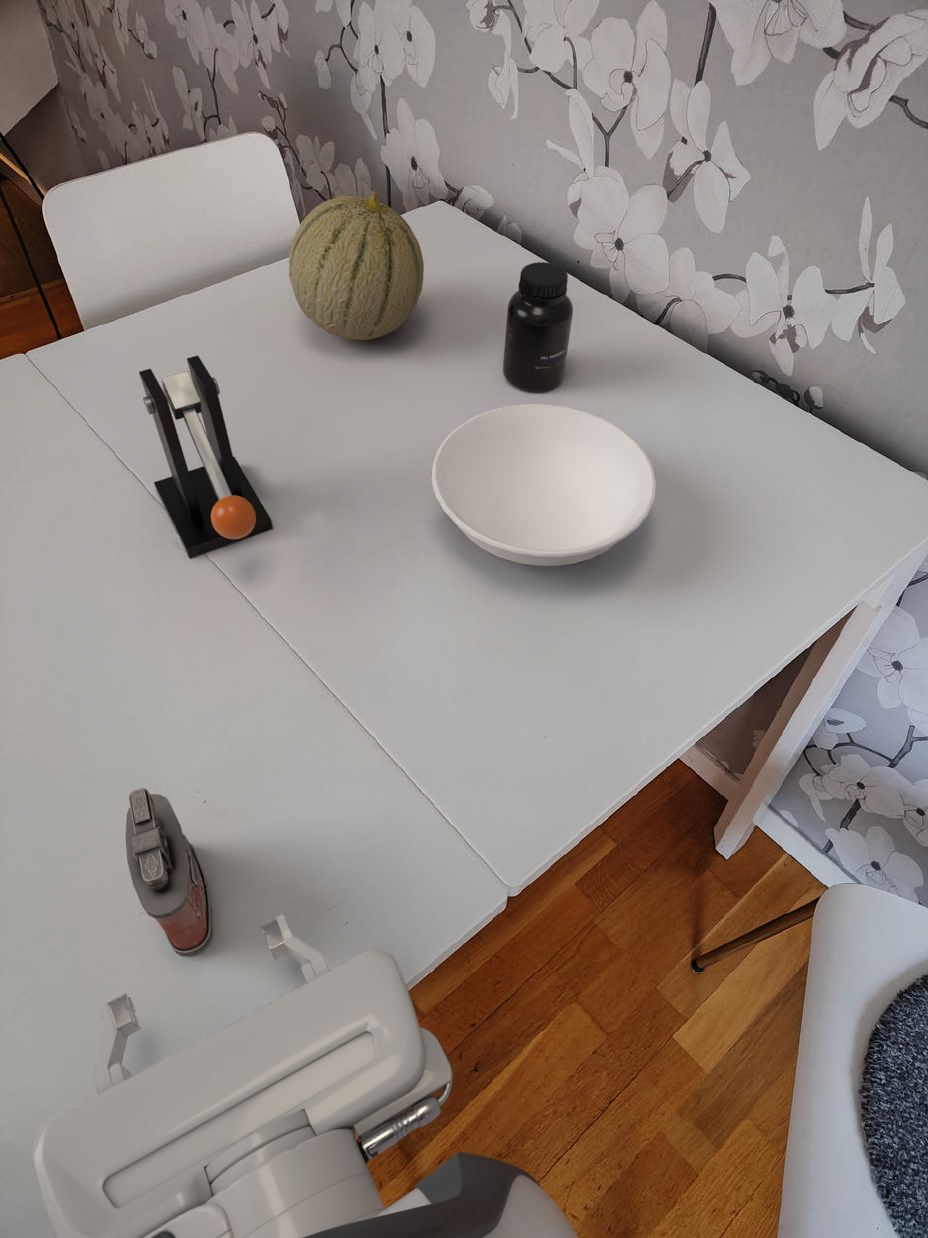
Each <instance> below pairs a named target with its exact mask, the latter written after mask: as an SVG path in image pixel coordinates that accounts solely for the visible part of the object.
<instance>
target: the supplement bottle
mask: <svg viewBox="0 0 928 1238" xmlns="http://www.w3.org/2000/svg"><path fill="white" fill-rule="evenodd" d="M568 280H569V275H568V273H567V271H566V270H565V269H564V268H563V267H561V266H560V265H557V264H555V263H552V262H548V261H547V262H545V261H540V262H539V261H538V262H532V263H529V264H526V265H525V266H524V267H523V268H522V269H521V271H520V275H519V282H518V287H517V288H518V289H517V291H515V292H514V293H513V295H511V297H510V298H509V301H508V302H507V303H508V304H507V311H506V312H507V313H506V322H505V323H506V324H505V335H504V337H505V338H504V349H503V363H502V374H503V375H504V378H505V380H506V381H507V382H508V383H509V384H510V385H511V386H513V387H515V388H516V389H518V390H522V391H526V392H531V393H540V392H546V391H549V390H552V389H554V388H555V387H557V386H558V385H559V384H560V383H561V382H562V381H563V379H564V376H565V371H566V366H567V357H568V350H569V343H570V336H571V330H572V324H573V316H574V306H573V302H572V300H571V299H570V297H569V296H568V295H567V292H568Z"/></svg>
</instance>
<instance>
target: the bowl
mask: <svg viewBox="0 0 928 1238" xmlns="http://www.w3.org/2000/svg"><path fill="white" fill-rule="evenodd" d="M431 483H432V488H433V492H434V495H435V498H436V500H437V502H438V503H439V505H440V506H441V508H442V511H444V512H445V513H446V514H447V516H448V517H449V518H450V519H451V520H452V521H453V522H454V524H456V525H457V527H458V528H459V529H460V530H461V532H462V533H463V534H464V535H465V536H466V537H467V539H469V540H471V541H472V542H473V543H474V544H476V545H477V546H478V547H479V548H481V549H482V550H484V551H487V552H488V553H490V554H492V555H494V556H496V557H499V558H502V559H504V560H508V561H510V562H514V563H517V564H524V565H530V566H541V567H558V566H566V565H574V564H577V563H580V562H581V563H582V562H584V561H588V560H591V559H594V558H596V557H597V556H599V555H601V554H603V553H605V552H607V551H608V550H610V549H611V548H612V547H614V546H615V545H616V544H617V543H618V542H620V541H622V540H624V539H625V538H626V537H628V536H629V535H631V534H632V533H633V532H634V531H636V530H637V529H639V527H640V526H641V525H642V524H643V522H644V521H645V520H646V518H647V517H648V516H649V514H650V512H651V510H652V508H653V505H654V503H655V500H656V493H657V492H656V491H657V481H656V475H655V470H654V467H653V464H652V463H651V461H650V459H649V457H648V454H647V452H645V451H644V449H643V448H642V446H641V445H640V444H639V443H638V441H636V440H635V439H634V438H633V437H632V436H631V435H629V434H628V433H627V432H626V431H625V430H623V429H622V428H620V427H619V426H617V425H616V424H614V423H612V422H611V421H609V420H607V419H606V418H605V419H604V418H602V417H600V416H597V415H596V414H593V413H590V412H587V411H584V410H580V409H576V408H573V407H569V406H563V405H556V404H547V403H546V404H544V403H543V404H542V403H526V404H515V405H506V406H503V407H500V408H494V409H491V410H488V411H485V412H483V413H481V414H478V415H475V416H473V417H471V418H469V419H468V420H466V421H465V422H463V423H462V424H460V425H458V426H457V427H456V428H455V429H454V430H453V431H451V433H449V434H448V435H447V436H446V437H445V438H444V440H443V442H442V443H441V444H440V446H439V447H438V449H437V451H436V454H435V456H434V459H433V462H432V467H431Z"/></svg>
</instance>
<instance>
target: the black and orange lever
mask: <svg viewBox="0 0 928 1238" xmlns="http://www.w3.org/2000/svg"><path fill="white" fill-rule="evenodd" d="M186 362H187V366H188V369H189V374H190V376H191V379H192V381H193V383H194V386H195V388H196V390H197V393H198V395H199V398H200V400H201V413H200V415H201V418H202V421H203V427H204V430H205V432H206V435H207V437H208V439H209V442H210V444H211V446H212V449H213V451H214V454H215V456H216V458H217V461H218V463H219V465H220V468H221V470H222V472H223V475H224V477H225V479H226V482H227V484H228V487H229V489H230V491H231V494H232V495H235V496H240V497H243V498H245V499H246V500H247V501H249V502H250V503H251V505H252V506H253V508H254V510H255V514H256V522H255V526H254V528H253V530H252V531H251V532H250V533H249V534H248V535H247V536H245V537H243V538H240V539H228V538H225V537H223V536H221V535H220V534H219V533H218V532H217V531H216V530H215V529H214V527H213V525H212V522H211V512H212V508H213V506H214V505H215V503H216V502H217V501H218V498H217V496H216V494H215V491H214V489H213V487H212V484H211V482H210V479H209V477H208V475H207V472H206V470H205V468H204V465H203V466H200V467H197V468H194V469H190V470H189V468H188V464H187V461H186V457H185V455H184V451H183V447H182V444H181V441H180V437H179V434H178V430H177V428H176V423H175V420H174V417H173V415H172V414H173V413H172V410H171V407H170V405H169V403H168V400H167V397H166V395H165V393H164V391H163V387H162V386H161V385H160V383H159V381H158V379H157V378H156V375H155V374H154V371H153V370H152V368H147V369H144V370H140V371H138V374H139V377H140V380H141V383H142V387H143V389H144V393H145V396H144V397H142V400H143V403H144V406H145V409H146V411H147V413H148V415H152V418H153V420H154V423H155V427H156V430H157V433H158V436H159V440H160V442H161V445H162V449H163V452H164V454H165V458H166V462H167V464H168V467H169V470H170V474H171V476H169V477H166V478H162V479H160V480H156V481H153V484H154V487H155V490H156V492H157V495H158V497H159V499H160V502H161V503H162V505H163V507H164V509H165V511H166V513H167V515H168V518H169V519H170V522H171V523H172V526H173V527H174V531H175V532H176V534H177V536H178V538H179V540H180V542H181V544H182V546H183V548H184V550H185V553H186V554H187V556H188V559H192V558H195V557H198V556H200V555H204V554H206V553H209V552H213V551H214V550H217V549H221V548H223V547H227V546H229V545H232V544H235V543H237V542H240V541H243V540H246V539H249V538H251V537H255V536H257V535H260V534H262V533H266V532H268V531H271V530H274V524H273V520H272V518H271V517H270V515H269V513H268V511H267V510H266V508H265V506H264V504H263V502H262V501H261V500H260V498H259V495H258V494H257V491H255V489H254V487H253V486H252V484H251V483H250V481H249V479H248V477H247V475H246V473H245V472H244V470H243V469H242V467H241V465H240V464H239V462H238V459H237V458H236V457H235V456H234V455H233V450H232V446H231V443H230V442H231V441H230V438H229V434H228V430H227V426H226V422H225V417H224V413H223V410H222V405H221V401H220V397H219V395H220V394H221V390H220V386H219V383H218V382H217V381H218V380H217V379H216V378H215V377H214V376H213V377H212V375H211V374H210V372H209V371H208V369H207V367H206V366H205V364H204V362H203V360H202V359H201V357H200V355H198V354H197V355H194V356H190V357H187V358H186Z"/></svg>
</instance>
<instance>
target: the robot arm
mask: <svg viewBox="0 0 928 1238" xmlns="http://www.w3.org/2000/svg"><path fill="white" fill-rule="evenodd" d="M260 927H261V930H262V933H263V935H264V938H265V940H266V943H267V945H268V947H269V950H270V952H271V955H272V956H273V959H274V960H278V959H280V958H281V957H284V956H286V955H288V956H290V957H292V958H293V959H294V960H296V961H297V962H298V963H300V964H301V967H300V970H301V971H302V974H303V977H304V979H305V983H304V984H302V985H300V986H298V987H296V988H295V989H293V990H290V991H289V992H287V993H285V994H283V995H281V996H280V997H277V998H276V999H273V1000H272V1001H270V1002H268V1003H266V1004H264V1005H263V1006H261V1007H259V1008H257V1009H255V1010H253V1011H252V1012H250V1013H248V1014H246V1015H244V1016H242V1017H240V1018H238V1019H236V1020H234V1021H232V1022H231V1023H229V1024H227V1025H225V1026H223V1027H221V1028H219V1029H217V1030H215V1031H214V1032H212V1033H210V1034H209V1035H206V1036H205V1037H202V1038H201V1039H199V1040H197V1041H196V1042H193V1043H192V1044H190V1045H188V1046H185V1047H184V1048H183V1049H180V1050H179V1051H176V1052H175V1053H173V1054H171V1055H169V1056H167V1057H165V1058H164V1059H162V1060H160V1061H158V1062H156V1063H154V1064H152V1065H150V1066H149V1067H147V1068H145V1069H142V1070H141V1071H139V1072H137V1073H135V1074H134V1075H132V1072H131V1071H129V1070H128V1069H127V1068H126V1067H125V1066H123V1065H122V1064H123V1060H124V1055H125V1051H126V1046H127V1042H128V1037H129V1036H131V1035H133V1034H135V1033H137V1032H139V1031H141V1030H142V1027H141V1024H140V1020H139V1018H138V1016H137V1015H136V1012H137V1010H136V1007H135V1005H134V1002H133V1000H132V998H131V997H130V996H129V995H128V994H127V993H123V994H121V995H119V996H117V997H115V998H113V999H111V1000H109V1001H107V1002H105V1003H103V1004H102V1005H100V1006H99V1014H100V1016H101V1021H102V1023H103V1028H104V1031H105V1035H103V1038H102V1041H101V1046H100V1048H99V1052H98V1055H97V1056H98V1057H97V1061H96V1063H95V1066H94V1070H93V1073H92V1075H93V1080H94V1083H95V1088H96V1092H97V1094H96V1095H94V1096H92V1097H91V1098H88V1099H87V1100H85V1101H83V1102H81V1103H79V1104H78V1105H76V1106H74V1107H72V1108H70V1109H68V1110H66V1111H63V1113H61V1114H59V1115H57V1116H55V1117H53V1118H51V1119H49V1120H48V1121H46V1122H45V1123H43V1124H42V1125H41V1127H40V1128H39V1131H38V1133H37V1135H36V1137H35V1140H34V1142H33V1146H32V1148H31V1150H30V1160H31V1165H32V1170H33V1174H34V1178H35V1182H36V1186H37V1189H38V1193H39V1196H40V1200H41V1203H42V1206H43V1208H44V1211H45V1214H46V1217H47V1219H48V1222H49V1225H50V1227H51V1230H52V1233H53V1235H54V1238H579V1235H578V1234H577V1232H576V1230H575V1228H574V1227H573V1225H572V1223H570V1221H569V1220H568V1218H567V1216H566V1215H565V1213H564V1212H563V1210H561V1208H560V1207H559V1205H558V1204H557V1202H556V1201H555V1200H554V1199H553V1198H552V1197H551V1196H550V1195H549V1194H548V1193H547V1192H546V1191H545V1189H544V1188H543V1187H542V1185H540V1183H539V1182H538V1181H537V1180H536V1179H535V1178H534V1176H532V1175H531V1174H530V1173H529V1172H527V1171H526V1170H524V1169H523V1168H520V1167H518V1166H515V1165H513V1164H511V1163H508V1162H505V1161H503V1160H499V1159H496V1158H492V1157H489V1156H484V1155H480V1154H476V1153H468V1152H461V1151H458V1152H456V1153H455V1154H454V1155H452V1156H451V1157H449V1158H448V1159H447V1160H446V1161H445V1162H443V1163H442V1164H440V1165H439V1166H438V1167H437V1168H435V1169H434V1170H432V1171H431V1172H430V1173H429V1174H427V1175H426V1176H425V1177H423V1178H422V1179H421V1180H420V1181H418V1182H417V1183H415V1185H414V1189H413V1190H411V1191H409V1192H408V1193H407V1194H405V1195H403V1196H402V1197H400V1198H399V1199H398V1200H396V1201H395V1202H394V1203H392V1204H390V1205H389V1206H388V1207H385V1205H384V1203H383V1200H382V1197H381V1195H380V1193H379V1190H378V1188H377V1185H376V1183H375V1181H374V1178H373V1175H372V1174H371V1172H370V1169H369V1166H368V1165H367V1164H368V1162H369V1161H370V1160H372V1159H374V1158H376V1157H377V1156H379V1155H380V1154H381V1153H383V1152H384V1151H387V1150H388V1149H389V1148H391V1147H393V1146H394V1145H395V1144H397V1143H398V1142H399V1141H400V1140H403V1137H406V1136H407V1135H408V1134H410V1133H411V1132H412V1131H414V1130H416V1129H418V1128H419V1127H420V1128H422V1127H424V1126H427V1125H428V1124H430V1123H432V1122H433V1121H434V1120H435V1119H437V1118H438V1117H439V1116H440V1115H441V1114H442V1108H441V1107H442V1106H443V1105H444V1104H445V1103H446V1101H447V1100H448V1098H449V1097H450V1095H451V1092H452V1090H453V1085H454V1071H453V1070H454V1069H453V1066H452V1063H451V1061H450V1059H449V1057H448V1055H447V1053H446V1051H445V1049H444V1047H443V1044H442V1043H441V1041H440V1039H439V1038H438V1036H436V1035H435V1034H434V1033H433V1032H432V1031H430V1030H429V1029H427V1028H425V1027H421V1026H420V1024H419V1020H418V1017H417V1014H416V1011H415V1007H414V1004H413V1001H412V998H411V995H410V992H409V989H408V987H407V984H406V982H405V979H404V976H403V974H402V972H401V970H400V967H399V965H398V963H397V960H396V959H395V957H394V956H393V955H392V954H391V953H388V952H386V951H384V950H382V949H379V948H376V947H373V948H370V949H367V950H366V951H363V952H362V953H360V954H358V955H356V956H355V957H353V958H350V959H349V960H347V961H345V962H343V963H342V964H340V965H338V966H336V967H334V968H332V969H330V968H329V966H328V964H327V961H326V959H325V956H324V954H323V953H321V952H320V951H319V950H317V949H315V948H313V947H312V946H310V945H309V944H307V943H305V942H304V941H303V940H301V939H299V938H298V937H294V935H293V932H292V930H291V928H290V925H289V922H288V921H287V918H286V916H285V914H284V913H282V914H280V915H278V916H276V917H275V918H272V919H271V920H268V921H267V922H265V923H263V924H262V925H260ZM441 1090H442V1091H441ZM439 1091H441V1093H440V1094H439V1095H438V1097H436V1096H435V1095H434V1094H436V1093H437V1092H439ZM355 1134H356V1135H355ZM356 1136H357V1137H356ZM357 1139H358V1140H357Z"/></svg>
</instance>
